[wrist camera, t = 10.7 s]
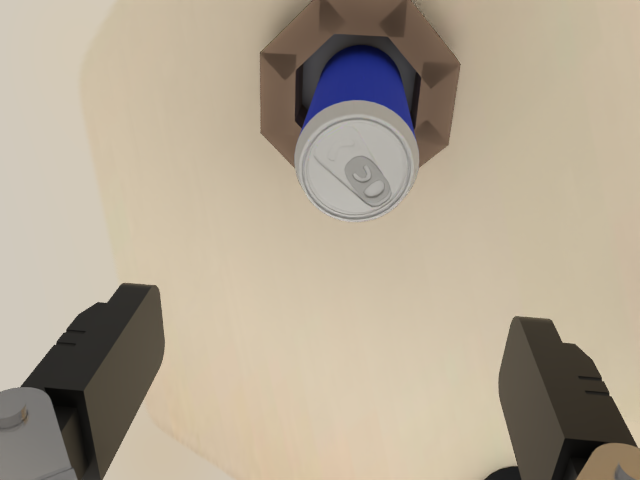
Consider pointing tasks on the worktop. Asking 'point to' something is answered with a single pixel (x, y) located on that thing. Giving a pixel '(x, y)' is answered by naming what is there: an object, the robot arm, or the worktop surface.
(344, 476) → the worktop surface
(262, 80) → the collar
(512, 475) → the wine bottle
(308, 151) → the beverage can
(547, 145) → the worktop surface
